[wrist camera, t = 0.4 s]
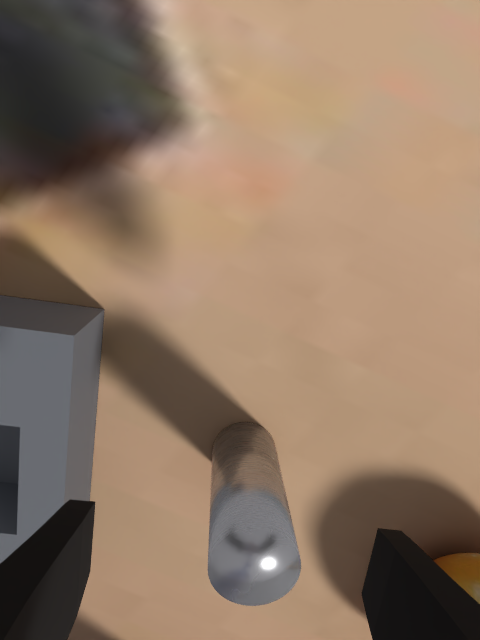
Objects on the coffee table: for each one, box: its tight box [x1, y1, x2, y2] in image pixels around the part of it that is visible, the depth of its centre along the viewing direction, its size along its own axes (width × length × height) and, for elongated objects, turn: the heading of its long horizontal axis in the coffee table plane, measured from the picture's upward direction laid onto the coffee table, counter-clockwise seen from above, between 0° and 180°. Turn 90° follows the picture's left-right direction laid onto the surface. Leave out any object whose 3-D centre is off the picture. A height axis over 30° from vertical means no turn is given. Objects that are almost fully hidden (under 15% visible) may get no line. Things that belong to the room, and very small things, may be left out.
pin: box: [208, 422, 301, 606], centre depth 18 cm, size 3×3×7 cm
